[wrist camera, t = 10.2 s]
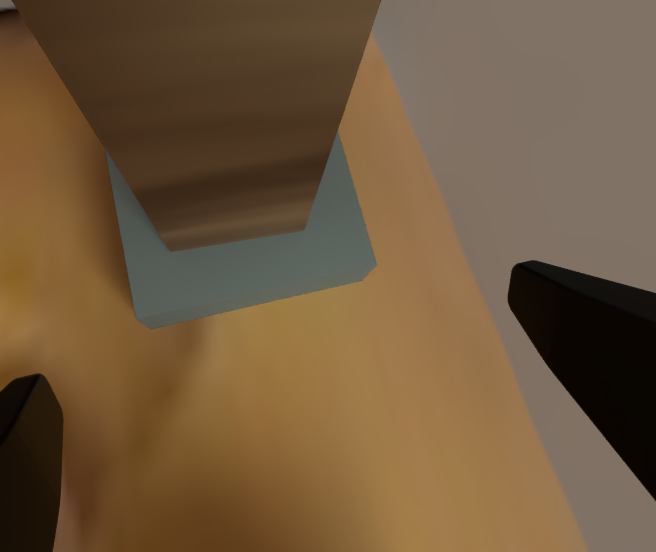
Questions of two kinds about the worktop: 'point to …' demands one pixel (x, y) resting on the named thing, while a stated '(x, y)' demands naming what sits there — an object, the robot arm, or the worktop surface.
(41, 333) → the worktop surface
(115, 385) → the worktop surface
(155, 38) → the walnut pillar
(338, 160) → the base block
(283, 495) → the worktop surface
